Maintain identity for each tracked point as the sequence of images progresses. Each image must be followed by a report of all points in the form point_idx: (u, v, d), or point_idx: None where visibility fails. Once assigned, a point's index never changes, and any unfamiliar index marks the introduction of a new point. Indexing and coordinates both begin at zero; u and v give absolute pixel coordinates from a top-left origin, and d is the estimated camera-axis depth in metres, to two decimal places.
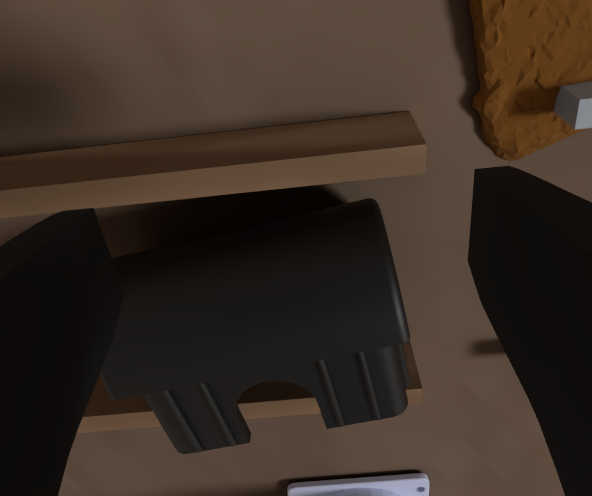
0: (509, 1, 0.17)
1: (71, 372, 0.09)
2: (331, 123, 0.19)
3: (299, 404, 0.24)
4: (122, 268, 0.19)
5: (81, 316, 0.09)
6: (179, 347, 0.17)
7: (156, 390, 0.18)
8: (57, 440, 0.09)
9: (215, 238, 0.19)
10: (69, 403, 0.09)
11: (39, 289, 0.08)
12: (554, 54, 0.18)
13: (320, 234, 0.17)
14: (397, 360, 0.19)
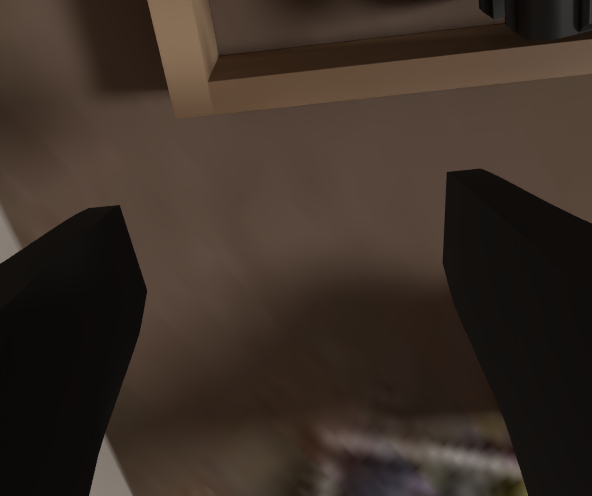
0: None
1: (101, 370, 0.09)
2: None
3: None
4: None
5: (109, 314, 0.09)
6: None
7: None
8: (88, 437, 0.09)
9: None
10: (99, 401, 0.09)
11: (71, 286, 0.08)
12: None
13: None
14: None
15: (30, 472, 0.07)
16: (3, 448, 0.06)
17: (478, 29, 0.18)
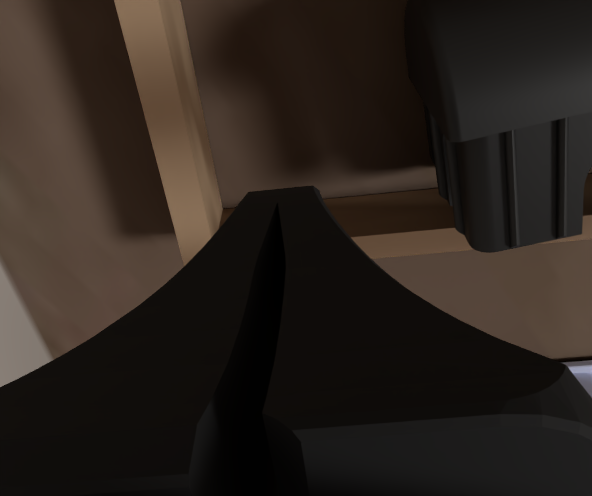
0: None
1: None
2: None
3: (586, 223, 0.19)
4: None
5: None
6: (567, 55, 0.13)
7: (520, 124, 0.13)
8: None
9: None
10: None
11: (270, 267, 0.08)
12: None
13: None
14: None
15: (269, 454, 0.07)
16: (260, 428, 0.06)
17: None
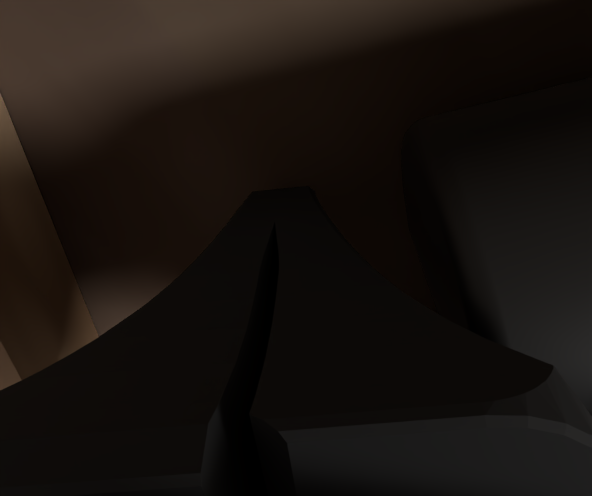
0: None
1: None
2: None
3: None
4: (504, 120, 0.07)
5: None
6: None
7: None
8: None
9: None
10: None
11: (275, 267, 0.08)
12: None
13: None
14: None
15: None
16: None
17: None
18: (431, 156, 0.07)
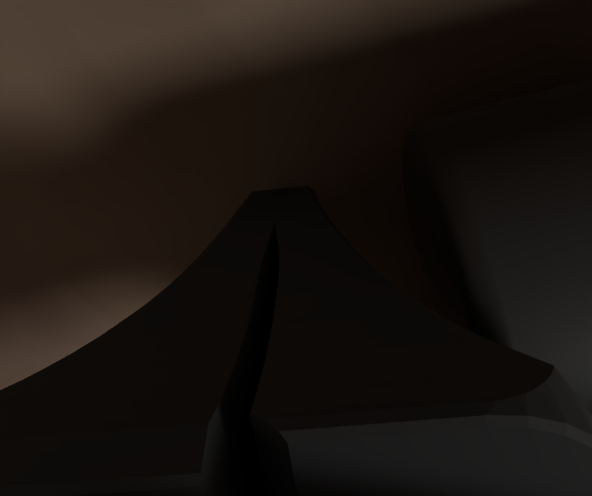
0: None
1: None
2: None
3: None
4: (507, 121, 0.07)
5: None
6: None
7: None
8: None
9: None
10: None
11: (275, 267, 0.08)
12: None
13: None
14: None
15: None
16: None
17: None
18: (433, 158, 0.06)
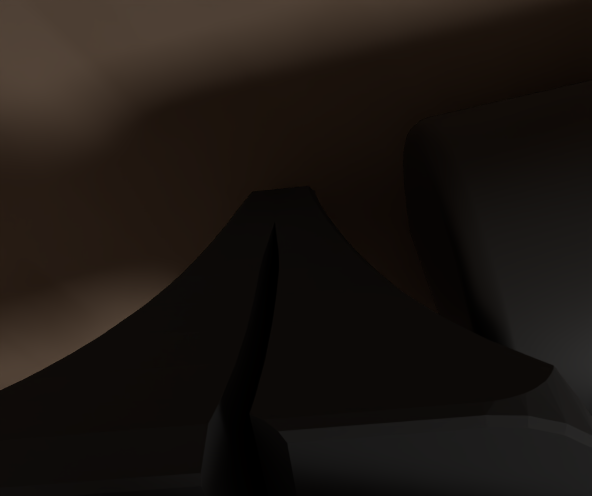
0: None
1: None
2: None
3: None
4: (510, 120, 0.07)
5: None
6: None
7: None
8: None
9: None
10: None
11: (275, 267, 0.08)
12: None
13: None
14: None
15: None
16: None
17: None
18: (435, 157, 0.06)
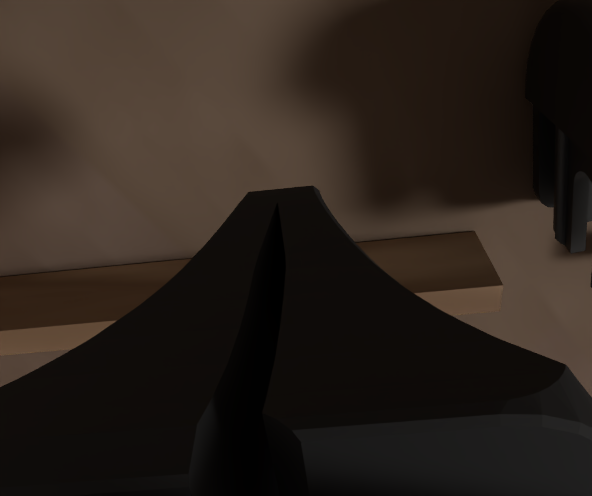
0: None
1: None
2: None
3: None
4: None
5: None
6: None
7: None
8: None
9: None
10: None
11: (270, 267, 0.08)
12: None
13: None
14: None
15: (269, 454, 0.07)
16: (260, 428, 0.06)
17: None
18: (584, 7, 0.11)
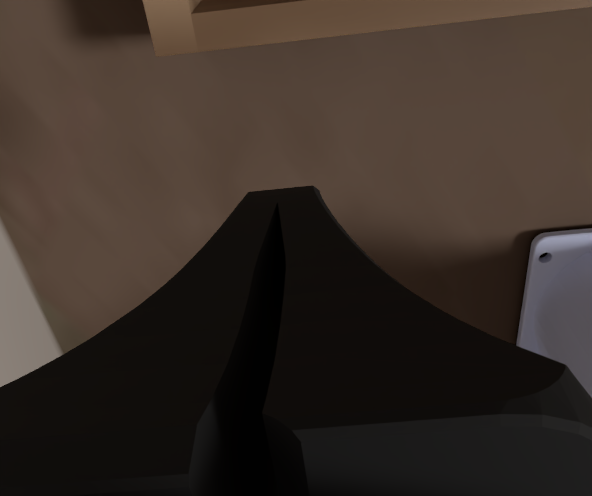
0: None
1: None
2: None
3: None
4: None
5: None
6: None
7: None
8: None
9: None
10: None
11: (270, 267, 0.08)
12: None
13: None
14: None
15: (269, 454, 0.07)
16: (260, 428, 0.06)
17: None
18: None
